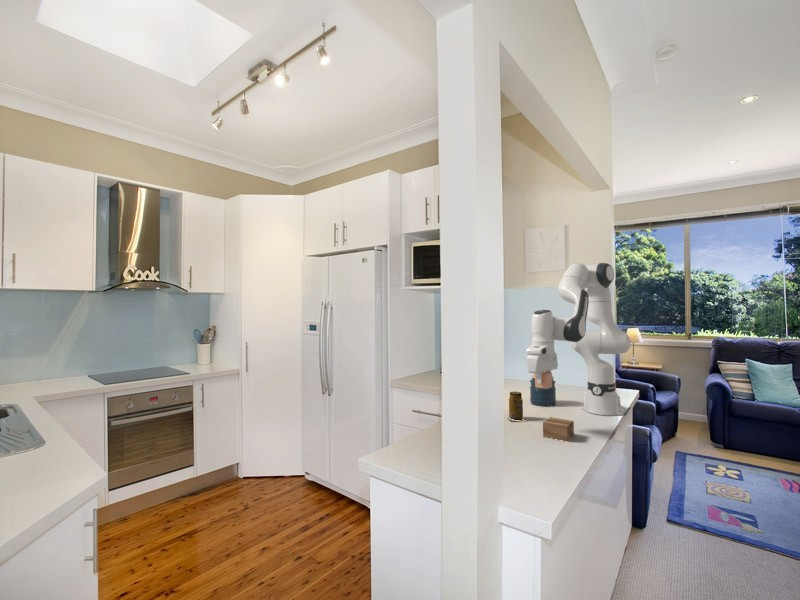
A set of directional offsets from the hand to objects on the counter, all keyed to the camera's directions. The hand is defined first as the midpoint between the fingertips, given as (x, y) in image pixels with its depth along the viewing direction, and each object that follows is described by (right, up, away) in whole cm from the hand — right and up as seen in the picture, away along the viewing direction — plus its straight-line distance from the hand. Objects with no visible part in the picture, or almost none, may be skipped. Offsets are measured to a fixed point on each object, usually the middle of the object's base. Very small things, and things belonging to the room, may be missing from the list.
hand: (543, 382), depth 163 cm
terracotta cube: (0, -2, 0) cm, 2 cm away
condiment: (-7, -20, +15) cm, 26 cm away
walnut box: (+2, -20, -9) cm, 22 cm away
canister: (+16, -21, +44) cm, 51 cm away
